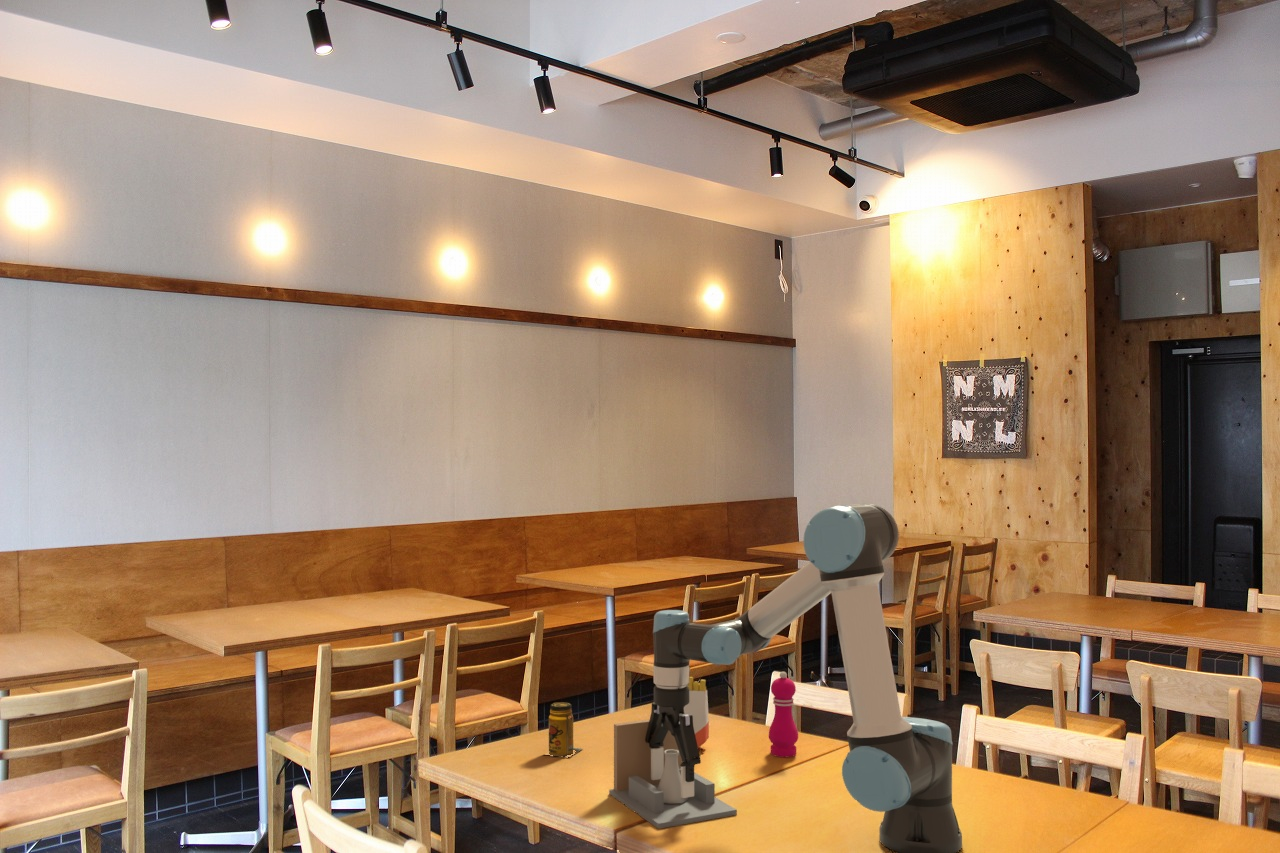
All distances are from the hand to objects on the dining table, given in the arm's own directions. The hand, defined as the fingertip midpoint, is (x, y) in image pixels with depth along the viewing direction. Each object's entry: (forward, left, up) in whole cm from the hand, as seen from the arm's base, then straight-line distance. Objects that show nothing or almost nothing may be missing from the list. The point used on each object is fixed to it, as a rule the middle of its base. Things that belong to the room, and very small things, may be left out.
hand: (672, 787), depth 218 cm
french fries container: (+35, -23, -4) cm, 42 cm away
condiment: (+45, +6, -4) cm, 46 cm away
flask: (0, 0, -3) cm, 3 cm away
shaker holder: (0, 0, -3) cm, 4 cm away
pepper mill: (+20, -42, -4) cm, 47 cm away
